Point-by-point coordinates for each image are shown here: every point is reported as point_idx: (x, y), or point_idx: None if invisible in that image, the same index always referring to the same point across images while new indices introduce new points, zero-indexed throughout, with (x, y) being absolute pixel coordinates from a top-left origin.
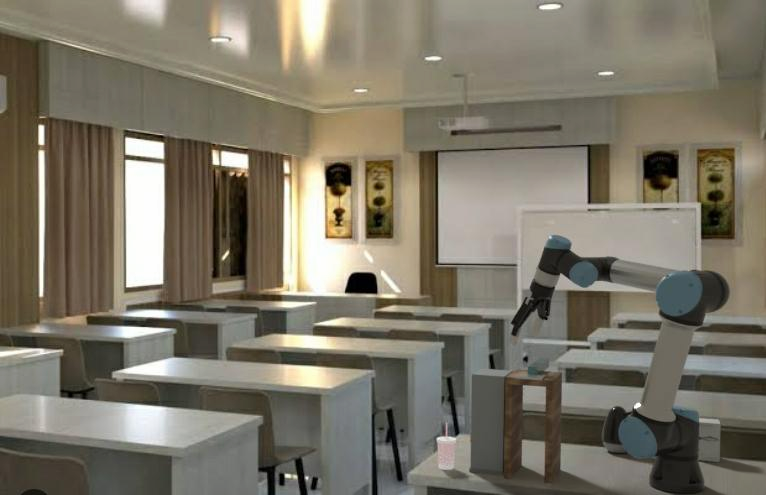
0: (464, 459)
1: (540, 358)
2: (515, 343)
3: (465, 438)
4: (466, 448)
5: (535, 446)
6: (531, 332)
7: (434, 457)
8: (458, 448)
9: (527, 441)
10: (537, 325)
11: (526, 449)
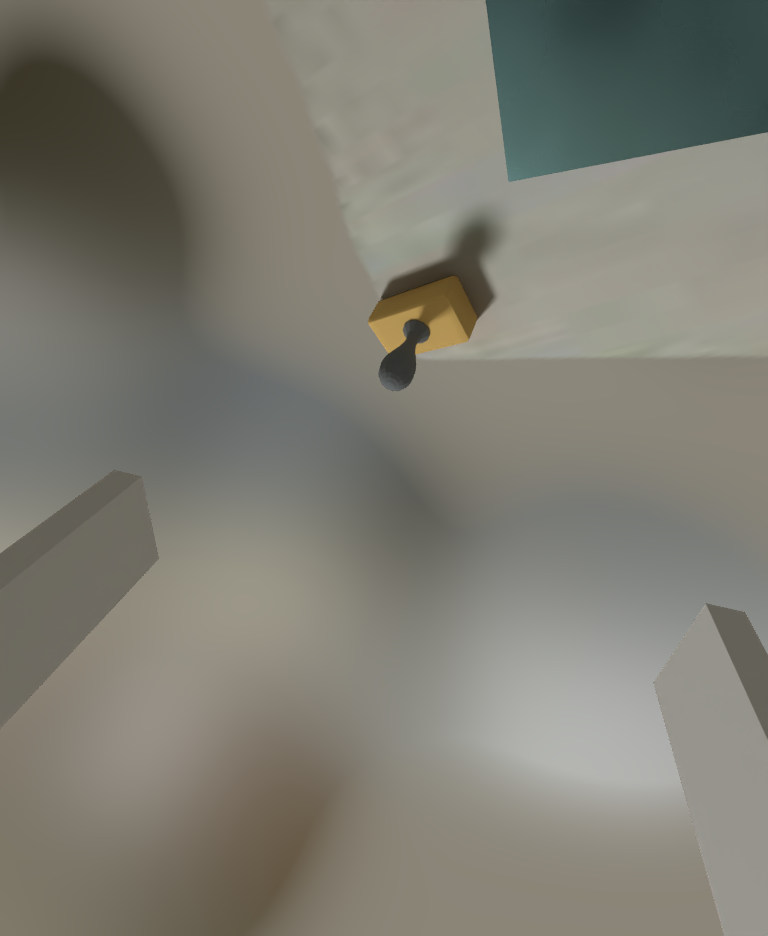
0: (755, 256)
1: (634, 128)
2: (759, 646)
3: None
4: (567, 305)
5: (385, 79)
6: (139, 565)
7: (751, 353)
8: (580, 326)
9: (340, 153)
10: (12, 641)
11: (457, 91)
